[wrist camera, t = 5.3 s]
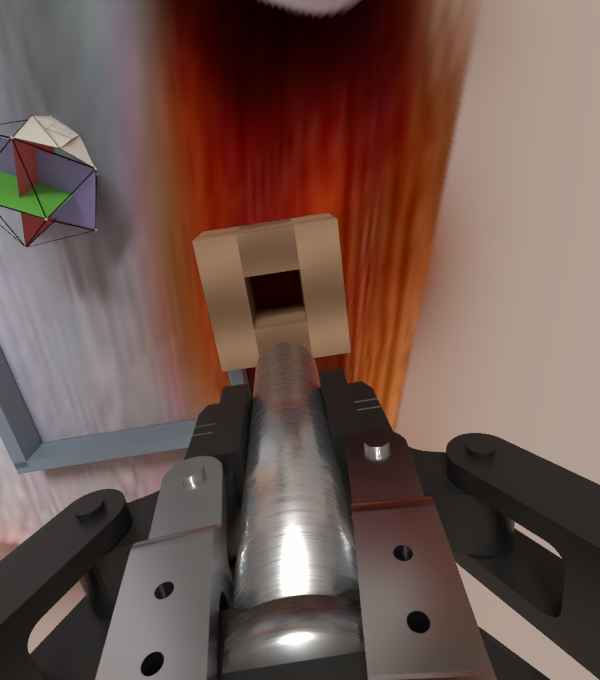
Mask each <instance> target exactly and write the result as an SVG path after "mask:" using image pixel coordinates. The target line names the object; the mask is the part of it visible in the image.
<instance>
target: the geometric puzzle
mask: <svg viewBox="0 0 600 680" xmlns="http://www.w3.org/2000/svg"><path fill="white" fill-rule="evenodd" d="M22 121H26V120H22ZM16 122H20V121H16ZM10 123H13V122H10ZM3 124H7V123H3ZM0 125H1V124H0ZM0 136H2V137H6V138H10V140H9V141H8V140H5V139H2V138H0V206H1V207H5V208H8V209H12V210H15V211H18V212H21V214H22V222H23V230H24V238H25V245H24V244H23V243H22V242H21V240H20V239H19V238H18V237H17V236H16V234H15V233H14V232H13V231H12V229H11V228H10V227H9V226H8V225H7V223H6V222H5V221H4V220H3V219H2V217H1V216H0V217H1V219H2V220H3V221H4V222H5V223H6V225H7V226H8V227H9V228H10V230H11V231H12V232H13V233H14V234H15V236H16V237H17V238H18V239H19V240H20V242H21V244H22V245H23V246H24V248H25V249H27V247H30V246H29V245H30V244H31V243H32V242H33V241H34V240H35V239H36V238H37V237H38V236H40V235H41V234H42V233H43V232H44V231H45V230H46V229H47V228H48V227H49V226H50V225H51V224H52V223H53V222H58V223H62V224H67V225H71V226H76V225H79V226H76V227H80V228H85V229H89V230H94V231H97V229H96V186H97V175H98V174H97V173H96V170H97V168H96V167H95V166H94V164H93V162H92V160H91V157H90V155H89V153H88V151H87V149H86V147H85V145H84V142H83V140H82V138H81V136H80V135H79V134H78V133H76V132H75V131H73V130H72V129H70V128H69V127H67V126H66V125H64V124H63V123H61V122H60V121H58V120H57V119H55V118H54V117H53V116H52V115H49V116H42V115H31V117H30V118H29V119H28V120H27V121H26V122H25V123H24V124H23V126H22V127H21V128H20V129H19V130H18V131H17V132H16V134H15V135H14V136H10V137H8V136H3V135H0ZM11 140H12V142H11ZM53 147H55V148H59V149H62V150H63V151H65V152H67V153H69V154H70V155H72V156H74V157H76V158H77V159H79V160H81V161H83V162H85V163H86V164H88V165H89V166H88V165H86V164H83V163H80V162H78V161H75V160H72V159H69V158H67V157H64V156H61V155H59V154H56V153H54V149H53ZM54 154H55V155H57V156H54ZM58 156H60V157H58ZM61 157H63V158H61ZM64 158H66V159H64ZM67 159H68V160H67ZM70 160H71V161H70ZM73 161H74V162H73ZM91 166H92V167H91ZM56 219H59V220H62V221H66V222H69V223H72V224H76V225H72V224H68V223H63V222H59V221H55V220H56ZM0 226H1V225H0ZM81 226H82V227H81ZM1 227H2V226H1ZM2 228H3V227H2ZM6 231H7V230H6ZM7 232H8V231H7ZM90 232H92V231H90ZM8 233H9V232H8ZM86 233H88V232H86ZM9 234H10V233H9ZM82 234H84V233H82ZM78 235H79V234H78ZM74 236H75V235H74ZM13 237H14V236H13ZM70 237H71V236H70ZM14 238H15V237H14ZM65 238H67V237H65ZM15 239H16V238H15ZM61 239H63V238H61ZM16 240H17V239H16ZM57 240H59V239H57ZM17 241H18V240H17ZM53 241H55V240H53ZM49 242H51V241H49ZM45 243H47V242H45ZM41 244H43V243H41ZM37 245H38V244H37ZM33 246H34V245H33Z"/></svg>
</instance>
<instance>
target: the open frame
mask: <svg viewBox="0 0 600 680" xmlns="http://www.w3.org/2000/svg"><path fill="white" fill-rule="evenodd" d="M228 375H229V379H230V384H231V386H232V385H238V384H245V383H248V384H249V382H248V377H247V372H246V368H245V369H239V370H232V371H228ZM196 422H197V419H194V420H187V421H181V422H174V423H168V424H161V425H155V426H148V427H142V428H135V429H129V430H122V431H115V432H109V433H102V434H96V435H89V436H83V437H76V438H70V439H63V440H57V441H50V442H44V443H42V441H41V439H40V436H39V434H38V432H37V430H36V427H35V425H34V423H33V420H32V418H31V416H30V414H29V411H28V409H27V407H26V405H25V402H24V400H23V398H22V395H21V393H20V391H19V389H18V386H17V384H16V382H15V380H14V377H13V375H12V373H11V370H10V368H9V366H8V364H7V361H6V359H5V357H4V355H3V352H2V350H1V348H0V436H1V438H2V440H3V442H4V445H5V447H6V449H7V451H8V453H9V455H10V457H11V459H12V461H13V463H14V465H15V467H16V469H17V472H18V474H20V473H27V472H33V471H40V470H46V469H53V468H59V467H66V466H72V465H79V464H85V463H92V462H98V461H105V460H111V459H118V458H124V457H131V456H137V455H144V454H150V453H157V452H163V451H170V450H176V449H183V448H188V447H189V444H190V441H191V438H192V436H193V431H194V428H195V427H196V426H195V425H196Z"/></svg>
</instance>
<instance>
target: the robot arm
mask: <svg viewBox="0 0 600 680" xmlns="http://www.w3.org/2000/svg"><path fill="white" fill-rule="evenodd" d="M318 374H319V382H320V389H321V393H322V398H323V402H324V407H325V411H326V416H327V420H328V425H329V429H330V434H331V438H332V442H333V447H334V451H335V456H336V460H337V464H338V466H339V468H340V471H341V474H342V478H343V482H344V487H345V491H346V495H347V500H348V504H349V508H350V513H351V516H352V519H353V529H354V540H355V550H356V561H357V571H358V581H359V589H353V590H348V591H345V592H343V593H340V594H338V595H336V596H337V597H343V598H347V599H350V600H354V601H357V602H360V603H361V612H362V623H363V633H364V644H365V651H362V652H356V653H349V654H343V655H337V656H330V657H324V658H317V659H311V660H305V661H298V662H292V663H286V664H279V665H273V666H267V667H260V668H254V669H247V670H241V671H235V672H228V673H222V667H223V658H224V638H223V636H219V635H220V630H221V629H222V628H223V627H224V626H225V625H226V624H227V623H228V622H230V621H231V620H232V619H234V618H235V617H236V616H238V615H239V614H241V613H243V612H245V611H247V610H248V609H239V608H232V598H233V588H234V578H235V568H236V558H237V549H238V539H239V529H240V519H241V509H242V499H243V489H244V481H245V471H246V461H247V451H248V442H249V432H250V422H251V412H252V402H253V399H252V394H251V390H250V386H249V384H248V383H245V384H238V385H232V386H225V387H224V388H223V392H222V396H221V400H220V403H219V404H213V405H208V406H207V407H206V408H205V409H204V410H203V411H202V412H201V413H200V414H199V416H198V419H197V422H196V425H195V426H196V427H195V428H194V431H193V436H192V438H191V441H190V444H189V447H188V450H187V453H186V456H185V459H184V461H182V462H180V463H178V464H176V465H175V466H173V467H172V468H171V469H170V470H169V471H168V472H167V473H166V474H165V475H164V477H163V479H162V482H161V487H160V490H159V491H157V492H155V493H153V494H151V495H148V496H145V497H143V498H140V499H137V500H135V501H132V502H129V503H127V502H126V500H125V497H124V495H123V493H122V492H120V491H118V490H115V489H103V490H98V491H95V492H92V493H89V494H87V495H85V496H83V497H81V498H79V499H77V500H76V501H74V502H73V503H71V504H70V505H69V506H68V507H66V508H65V509H64V510H63V511H61V512H60V513H59V514H58V515H56V516H55V517H54V518H53V519H52V520H50V521H49V522H48V523H47V524H45V525H44V526H43V527H42V528H40V529H39V530H38V531H37V532H35V533H34V534H33V535H32V536H31V537H29V538H28V539H27V540H26V541H24V542H23V543H22V544H21V545H19V546H18V547H17V548H16V549H15V550H13V551H12V552H11V553H10V554H9V555H7V556H6V557H5V558H3V559H2V560H1V561H0V680H550V679H549V678H547V677H546V676H545V675H543V674H542V673H541V672H539V671H538V670H537V669H535V668H534V667H533V666H531V665H530V664H529V663H527V662H526V661H525V660H523V659H522V658H520V657H519V656H518V655H516V654H515V653H514V652H512V651H511V650H510V649H508V648H507V647H506V646H504V645H503V644H502V643H500V642H499V641H498V640H496V639H495V638H494V637H492V636H491V635H490V634H488V633H487V632H486V631H484V630H483V629H481V628H480V627H478V625H477V622H476V619H475V616H474V614H473V611H472V608H471V605H470V602H469V599H468V597H467V594H466V591H465V588H464V585H463V582H462V579H461V577H460V574H459V571H458V568H457V565H456V562H457V563H458V564H459V565H460V566H461V567H462V568H464V569H465V570H466V571H467V572H469V574H471V575H472V576H473V577H474V578H476V579H477V580H478V581H479V582H481V583H482V584H483V585H484V586H485V587H487V588H488V589H489V590H490V591H492V592H493V593H494V594H495V595H496V596H498V597H499V598H500V599H501V600H503V601H504V602H505V603H506V604H508V605H509V606H510V607H511V608H512V609H514V610H515V611H516V612H517V613H519V614H520V615H521V616H522V617H524V618H525V619H526V620H527V621H528V622H530V623H531V624H532V625H533V626H534V627H536V628H537V629H538V630H539V631H541V632H542V633H543V634H544V635H545V636H547V637H548V638H549V639H550V640H552V641H553V642H554V643H555V644H556V645H558V646H559V647H560V648H561V649H563V650H564V651H565V652H566V653H567V654H569V655H570V656H571V657H573V658H574V659H575V660H576V661H577V662H579V663H580V664H581V665H582V666H583V667H585V668H586V669H587V670H588V671H590V672H591V673H592V674H593V675H594V676H596V677H597V678H598V679H599V680H600V485H598V484H597V483H595V482H592V481H590V480H588V479H586V478H584V477H582V476H580V475H577V474H575V473H573V472H571V471H569V470H567V469H565V468H562V467H561V466H558V465H556V464H554V463H552V462H550V461H548V460H546V459H544V458H541V457H539V456H537V455H535V454H533V453H531V452H529V451H527V450H524V449H522V448H520V447H518V446H516V445H514V444H512V443H510V442H507V441H505V440H503V439H501V438H499V437H496V436H493V435H489V434H482V433H469V434H463V435H460V436H457V437H455V438H453V439H452V440H451V441H450V442H449V443H448V445H447V448H446V453H445V452H429V451H421V450H417V449H413V448H411V447H408V444H407V442H406V440H405V439H404V437H402V436H401V435H399V434H398V433H396V432H393V430H392V428H391V426H390V424H389V422H388V420H387V418H386V415H385V413H384V411H383V409H382V407H381V405H380V403H379V401H378V399H377V397H376V395H375V392H374V390H373V388H371V387H370V386H368V385H367V384H365V383H364V382H362V381H361V382H355V383H348V384H347V381H346V378H345V375H344V373H343V370H342V369H335V370H329V371H323V372H318ZM514 522H516V523H518V524H520V525H521V526H523V527H524V528H526V529H527V530H529V531H531V532H532V533H534V534H536V535H537V536H539V537H540V538H542V539H544V540H545V541H547V542H548V543H550V545H552V546H553V547H554V548H555V549H556V550H557V552H558V553H559V554H560V556H561V557H562V559H561V558H560V557H558V556H556V555H555V554H553V553H552V552H550V551H549V550H547V549H546V548H544V547H543V546H541V545H539V544H538V543H536V542H535V541H533V540H532V539H530V538H529V537H527V536H525V535H524V534H522V533H521V532H519V531H517V530H516V529H515V528H514ZM455 561H456V562H455ZM78 581H80V583H81V586H82V588H83V590H84V592H85V594H86V596H85V597H84V598H83V599H82V600H81V601H80V602H79V603H78V604H77V605H76V606H75V608H73V610H72V611H71V612H70V613H69V614H68V615H67V616H66V617H65V618H64V619H63V620H62V621H61V622H60V623H59V625H57V626H56V628H55V629H54V630H53V631H52V632H51V633H50V634H49V635H48V636H47V637H46V638H45V639H44V640H43V641H42V642H41V643H40V644H39V645H38V647H36V649H35V650H34V651H33V652H32V653H31V654H29V652H28V648H27V644H28V639H29V636H30V634H31V632H32V630H33V628H34V626H35V625H36V624H37V622H38V621H39V620H40V619H41V617H43V616H44V615H45V614H46V613H47V612H48V611H49V609H51V608H52V607H53V606H54V605H55V604H56V603H57V602H58V601H59V600H60V599H61V598H62V597H63V596H64V595H65V594H66V593H67V592H68V591H69V590H70V588H72V587H73V586H74V585H75V584H76V583H77V582H78Z"/></svg>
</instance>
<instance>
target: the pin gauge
mask: <svg viewBox="0 0 600 680" xmlns="http://www.w3.org/2000/svg"><path fill="white" fill-rule="evenodd" d="M353 589H359V581H358V571H357V561H356V550H355V540H354V529H353V521H352V517H351V513H350V508H349V504H348V500H347V495H346V491H345V487H344V482H343V478H342V474H341V471H340V468H339V466H338V464H337V460H336V456H335V451H334V447H333V442H332V438H331V434H330V429H329V425H328V420H327V416H326V411H325V407H324V402H323V398H322V393H321V389H320V382H319V374H318V370H317V365H316V362H315V359H314V357H313V355H312V354H311V353H310V352H309V351H308V350H307V349H306V348H305V347H303V346H301V345H299V344H296V343H292V342H281V343H277V344H274V345H272V346H270V347H269V348H267V349H266V350H265V351H264V352H263V353H262V354H261V355H260V357H259V359H258V361H257V364H256V371H255V381H254V391H253V402H252V412H251V422H250V432H249V442H248V451H247V461H246V471H245V481H244V489H243V499H242V509H241V519H240V529H239V539H238V549H237V558H236V568H235V578H234V588H233V598H232V608H239V609H248V610H247V611H245V612H243V613H241V614H239V615H238V616H236V617H235V618H234V619H232V620H231V621H230V622H228V623H227V624H226V625H225V626H224V627H223V628H222V629H221V630H220V635H219V636H223V638H224V658H223V667H222V673H228V672H235V671H241V670H247V669H254V668H260V667H267V666H273V665H279V664H286V663H292V662H298V661H305V660H311V659H317V658H324V657H330V656H337V655H343V654H349V653H356V652H362V651H365V644H364V633H363V623H362V612H361V603H360V602H357V601H354V600H350V599H347V598H343V597H337V596H336V595H338V594H340V593H343V592H345V591H348V590H353Z"/></svg>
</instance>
